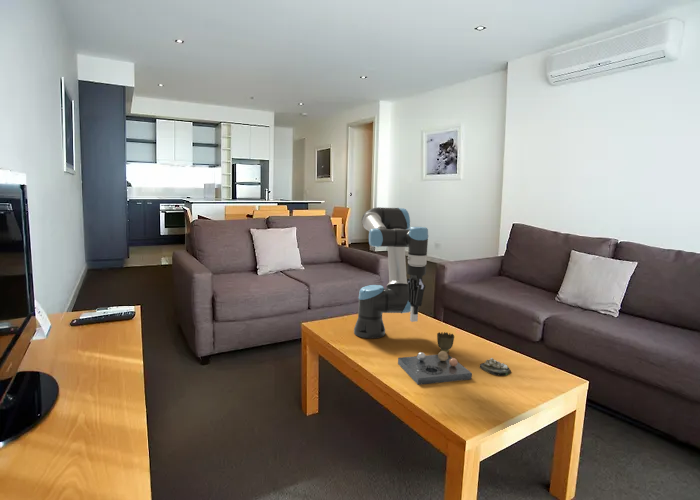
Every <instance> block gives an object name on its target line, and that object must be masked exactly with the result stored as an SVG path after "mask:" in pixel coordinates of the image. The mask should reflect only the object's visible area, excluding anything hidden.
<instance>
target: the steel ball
mask: <svg viewBox="0 0 700 500" xmlns="http://www.w3.org/2000/svg"><path fill="white" fill-rule="evenodd" d="M416 356H417V358H418V360H420V361H424V360H425V358H426V354H425V353H424V352H421V351H420V352H418V353H417V355H416Z"/></svg>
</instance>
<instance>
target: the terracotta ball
mask: <svg viewBox="0 0 700 500" xmlns="http://www.w3.org/2000/svg"><path fill="white" fill-rule="evenodd" d="M458 363H459V362H458V359H456V358H455V357H452V358H451V359H450V360H449V364H450V365H451V366H453V367H455V366H456V365H457V364H458Z"/></svg>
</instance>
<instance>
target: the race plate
mask: <svg viewBox="0 0 700 500" xmlns="http://www.w3.org/2000/svg"><path fill="white" fill-rule="evenodd" d="M425 355H426V354H425ZM451 358H453V356H451V355H449V354H448V359H447V360H446V361H441V360H439V358H438V354H429V355H428V354H427V355H426V358H425V360H424V361H420V360H418V358H417V355H416V356H403V357H398V358H397V365H399V367H401V369H402V370H403V371H404V372H405V373H406V374H407V375H408V376H409V377H410V378H411V379H412V380H413V382H414V383H416V384H417V386H419V385H429V384H439V383H449V382H459V381H469V380H472V379H473V377H472V376H473V373H472V372H471V371H470V370H469V369H468V368H466V367H465V366H464V365H462V364H461V363H460V362H458V364H457V365H456V366H455V367H453V366H451V365H450V364H449V360H450V359H451Z"/></svg>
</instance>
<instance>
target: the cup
mask: <svg viewBox="0 0 700 500" xmlns="http://www.w3.org/2000/svg"><path fill="white" fill-rule="evenodd" d="M436 341H437V342H436V343H437V346H438V348H439V349H440V352H441V351H445V352H447V354H449V352H450V350H451V349H452V348H453V346H454V341H455V335H454V334H453V333H451V332H449V333H448V332H446V331H444V332H443V331H442V332H440V331H439V332H438V333H437V334H436Z"/></svg>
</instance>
